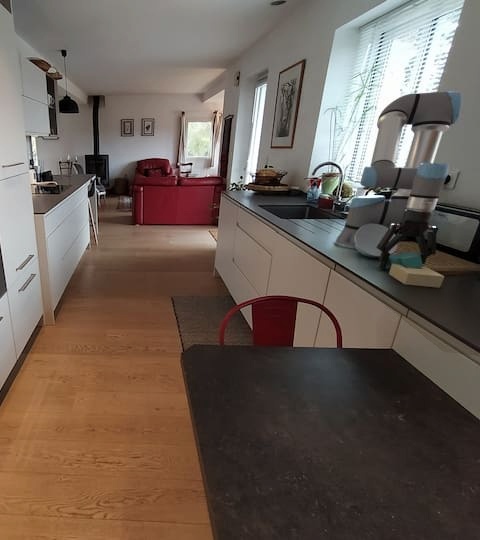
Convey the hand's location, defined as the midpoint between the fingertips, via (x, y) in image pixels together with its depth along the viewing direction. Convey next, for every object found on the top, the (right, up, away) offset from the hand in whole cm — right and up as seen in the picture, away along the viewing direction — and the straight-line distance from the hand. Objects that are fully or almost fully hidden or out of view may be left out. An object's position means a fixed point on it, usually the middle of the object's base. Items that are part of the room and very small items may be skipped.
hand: (398, 270), depth 119 cm
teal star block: (0, +1, -3) cm, 3 cm away
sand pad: (-2, -3, -8) cm, 9 cm away
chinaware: (+4, +10, +20) cm, 23 cm away
